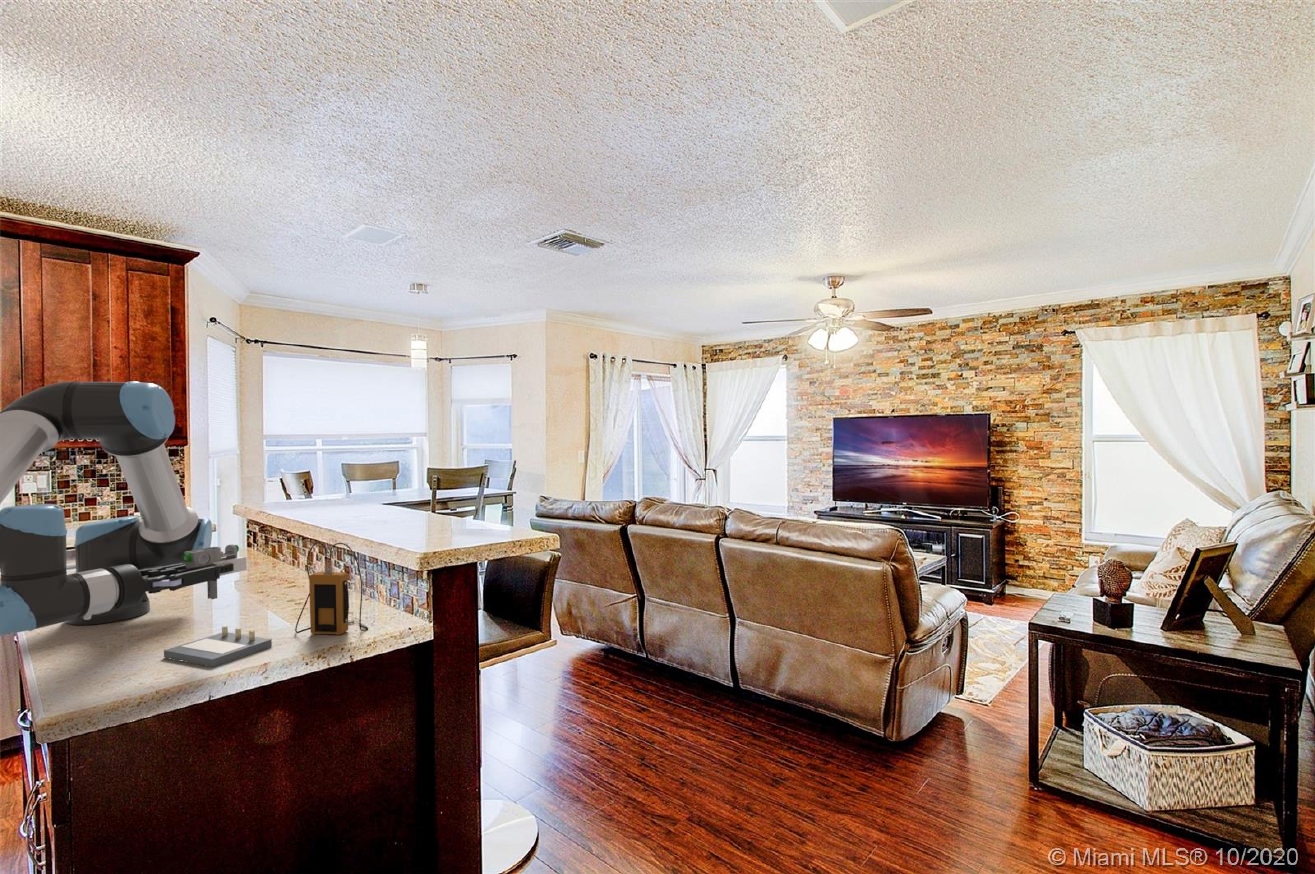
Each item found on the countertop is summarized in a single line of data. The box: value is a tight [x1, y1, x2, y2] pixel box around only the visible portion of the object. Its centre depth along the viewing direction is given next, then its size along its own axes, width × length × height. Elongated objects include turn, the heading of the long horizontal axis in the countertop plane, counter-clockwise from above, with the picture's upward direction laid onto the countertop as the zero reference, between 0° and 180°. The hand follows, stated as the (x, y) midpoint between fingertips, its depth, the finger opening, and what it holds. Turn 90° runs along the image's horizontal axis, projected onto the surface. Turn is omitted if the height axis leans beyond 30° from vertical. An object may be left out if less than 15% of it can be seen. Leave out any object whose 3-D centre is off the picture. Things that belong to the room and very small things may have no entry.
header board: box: [163, 625, 273, 668], centre depth 129 cm, size 14×12×4 cm
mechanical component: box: [182, 544, 240, 600], centre depth 128 cm, size 3×10×10 cm, turn 160°
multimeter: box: [294, 541, 369, 636], centre depth 144 cm, size 15×10×20 cm
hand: (238, 562), depth 133 cm, fingers closed on mechanical component, 3 cm apart
